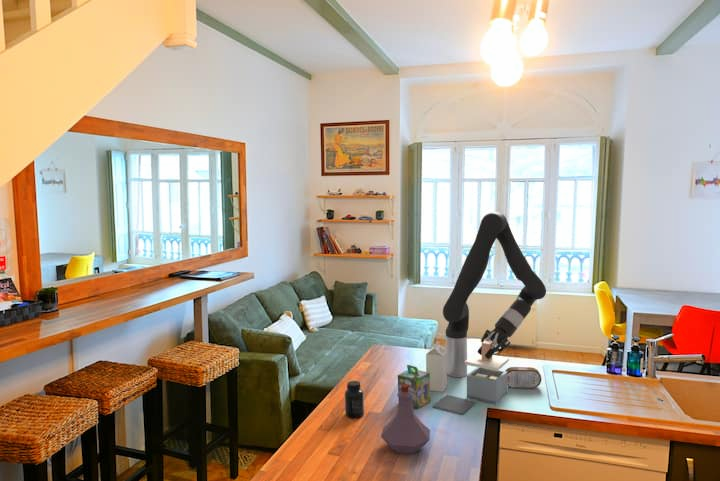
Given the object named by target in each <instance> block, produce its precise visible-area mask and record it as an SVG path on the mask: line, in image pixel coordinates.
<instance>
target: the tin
mask: <svg viewBox="0 0 720 481" xmlns="http://www.w3.org/2000/svg"><path fill="white" fill-rule="evenodd" d="M504 371H507V388H508V387H509V388H511V389H525V390H526V389H528V390H529V389H531V390H533V389H537V387H539V386H540V385H541V383H542V375H541V373H540V371H539V370H538V369H537V368H535V367H527V366H526V367H525V366H524V367H523V366H521V367H520V366H511V367H508V368H506V369H505V370H504Z"/></svg>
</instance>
